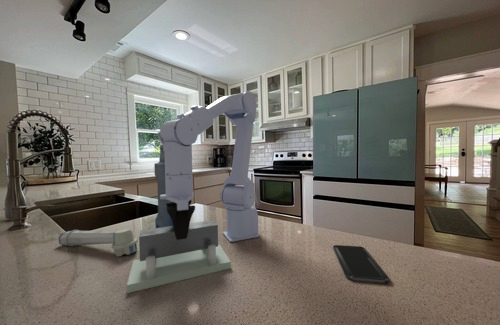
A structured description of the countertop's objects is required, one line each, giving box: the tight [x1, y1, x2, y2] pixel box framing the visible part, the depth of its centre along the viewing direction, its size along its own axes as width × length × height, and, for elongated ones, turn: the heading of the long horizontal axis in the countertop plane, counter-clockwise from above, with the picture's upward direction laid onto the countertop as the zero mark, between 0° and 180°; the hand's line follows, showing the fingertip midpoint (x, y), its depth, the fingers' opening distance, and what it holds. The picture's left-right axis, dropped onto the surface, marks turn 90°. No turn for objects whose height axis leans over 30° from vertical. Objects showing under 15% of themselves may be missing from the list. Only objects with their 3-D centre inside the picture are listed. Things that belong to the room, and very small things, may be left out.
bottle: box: [153, 143, 173, 228], centre depth 72 cm, size 10×10×30 cm
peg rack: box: [126, 243, 232, 294], centre depth 47 cm, size 20×10×6 cm, turn 113°
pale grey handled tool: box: [57, 228, 139, 257], centre depth 57 cm, size 5×7×25 cm
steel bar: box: [138, 219, 219, 261], centre depth 46 cm, size 16×4×5 cm, turn 113°
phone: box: [332, 244, 390, 285], centre depth 48 cm, size 8×1×15 cm
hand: (180, 234), depth 46 cm, fingers closed on steel bar, 4 cm apart
